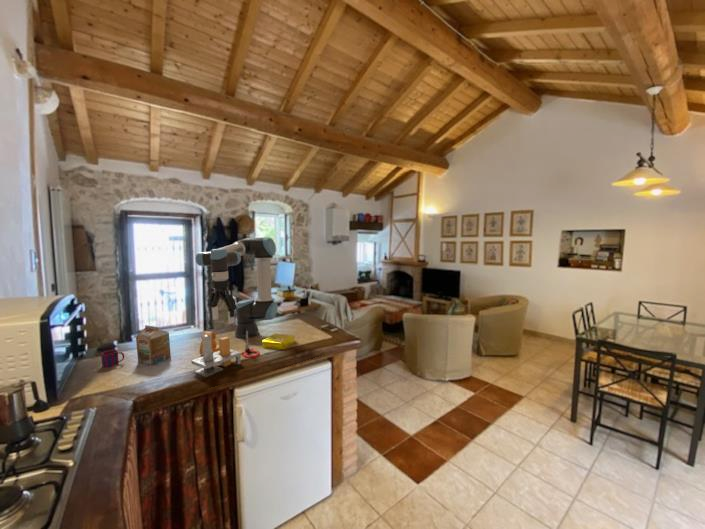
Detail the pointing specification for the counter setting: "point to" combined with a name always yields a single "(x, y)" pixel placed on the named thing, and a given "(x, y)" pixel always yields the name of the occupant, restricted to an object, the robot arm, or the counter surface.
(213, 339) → the bracket
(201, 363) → the windowed plate knob
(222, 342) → the wedge pin
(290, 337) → the element tile
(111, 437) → the counter surface
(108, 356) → the mug
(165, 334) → the milk carton
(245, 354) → the tow hook
